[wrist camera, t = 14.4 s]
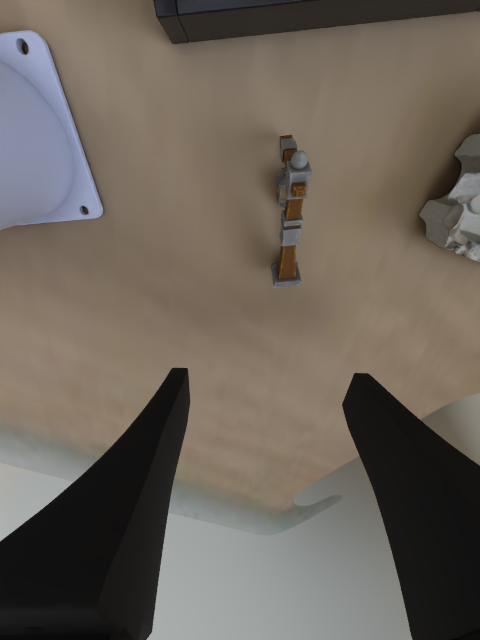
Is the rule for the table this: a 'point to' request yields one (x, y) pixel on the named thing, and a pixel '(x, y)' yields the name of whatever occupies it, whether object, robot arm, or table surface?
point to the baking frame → (287, 15)
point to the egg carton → (458, 207)
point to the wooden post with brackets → (290, 210)
